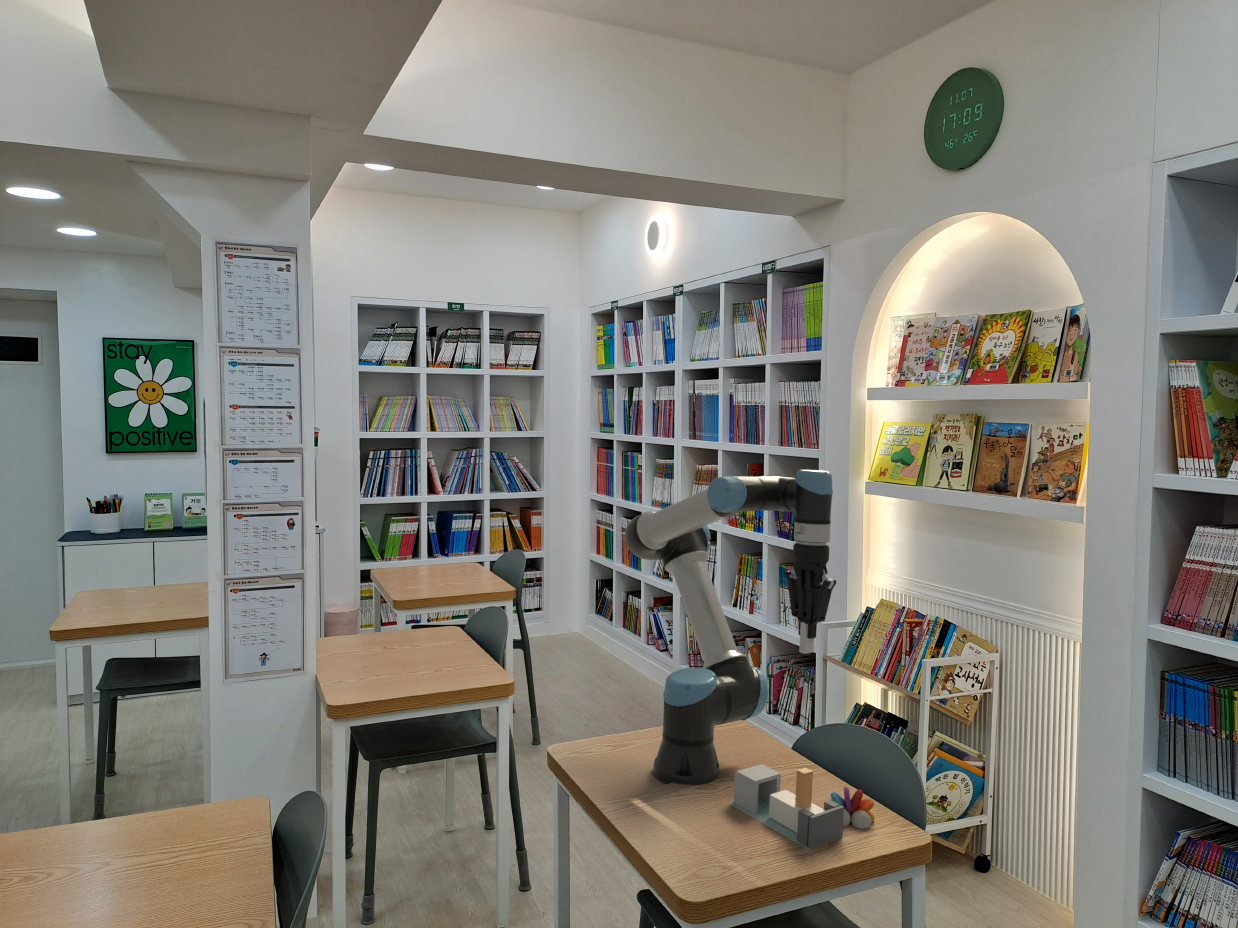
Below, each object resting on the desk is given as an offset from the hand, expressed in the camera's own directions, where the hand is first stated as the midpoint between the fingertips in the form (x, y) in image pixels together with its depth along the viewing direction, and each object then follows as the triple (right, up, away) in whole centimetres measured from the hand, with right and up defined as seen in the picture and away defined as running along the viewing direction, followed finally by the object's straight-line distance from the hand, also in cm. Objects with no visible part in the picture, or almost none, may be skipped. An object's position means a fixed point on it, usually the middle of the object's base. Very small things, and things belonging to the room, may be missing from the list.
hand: (806, 652), depth 177 cm
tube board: (-7, -33, -10) cm, 35 cm away
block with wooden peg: (-4, -32, -13) cm, 35 cm away
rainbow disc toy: (+7, -33, -8) cm, 35 cm away
